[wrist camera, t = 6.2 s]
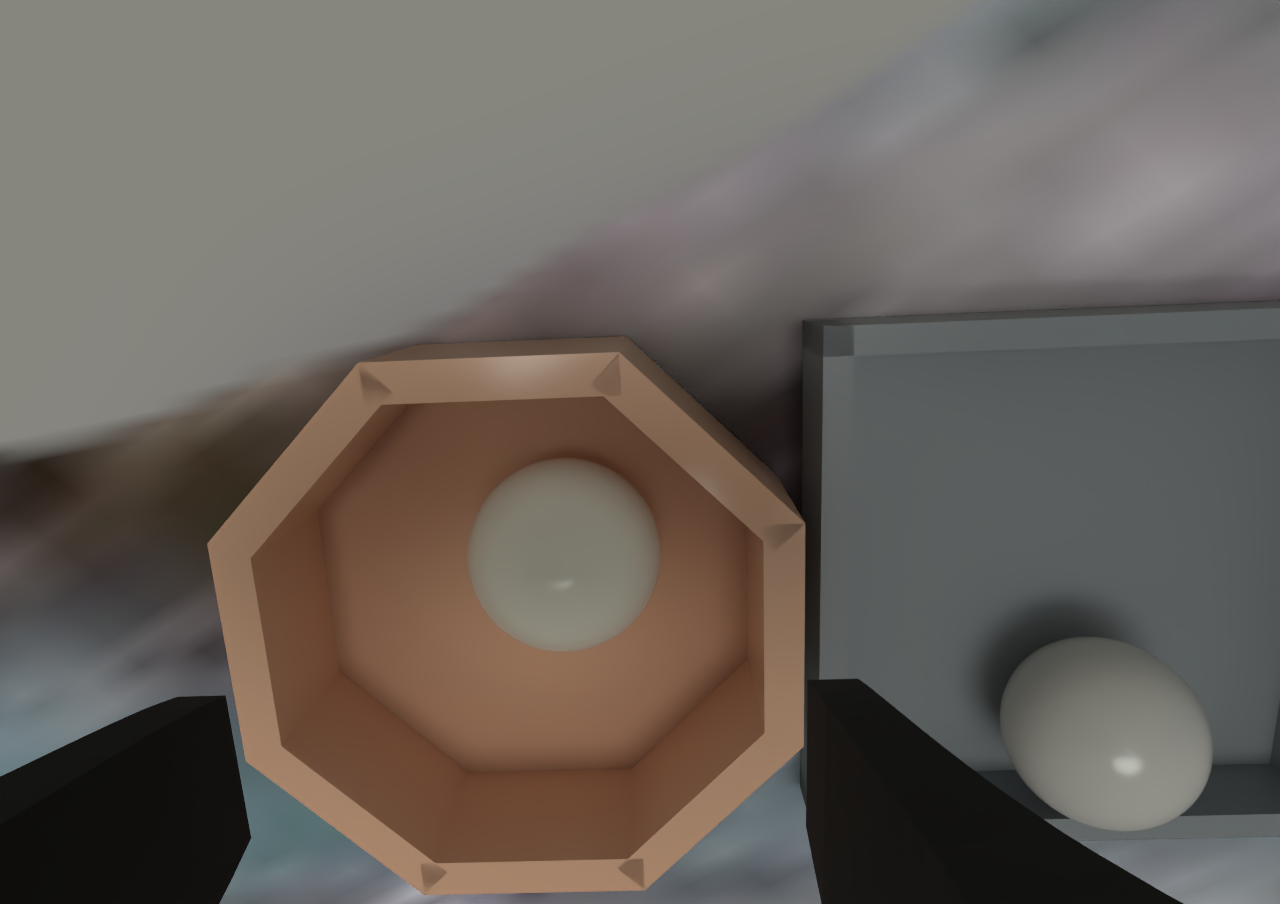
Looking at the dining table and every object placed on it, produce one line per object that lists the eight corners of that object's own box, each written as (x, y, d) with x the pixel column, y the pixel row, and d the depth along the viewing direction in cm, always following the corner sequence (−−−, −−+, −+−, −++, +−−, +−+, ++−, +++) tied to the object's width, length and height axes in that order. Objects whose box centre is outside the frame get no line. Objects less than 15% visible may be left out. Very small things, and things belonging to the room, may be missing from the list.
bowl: (776, 329, 18) (806, 344, 14) (776, 779, 20) (802, 886, 17) (270, 350, 18) (176, 369, 14) (336, 790, 20) (270, 898, 17)
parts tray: (1356, 297, 17) (1457, 300, 15) (1278, 773, 20) (1353, 834, 18) (802, 319, 17) (823, 326, 15) (800, 785, 20) (817, 847, 18)
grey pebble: (1145, 604, 18) (1277, 693, 15) (1129, 753, 19) (1248, 874, 15) (976, 609, 19) (1061, 699, 15) (966, 756, 19) (1045, 879, 16)
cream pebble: (654, 436, 18) (663, 482, 14) (659, 598, 19) (669, 685, 15) (478, 442, 18) (438, 491, 14) (492, 606, 19) (458, 694, 15)
